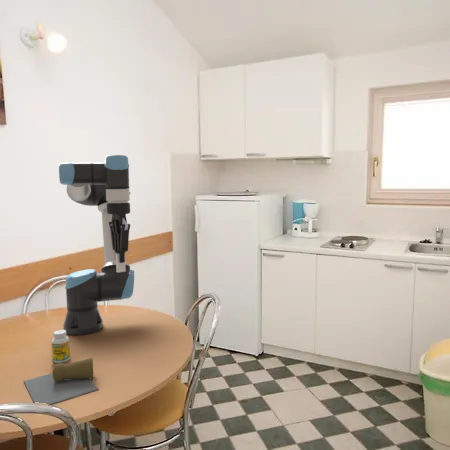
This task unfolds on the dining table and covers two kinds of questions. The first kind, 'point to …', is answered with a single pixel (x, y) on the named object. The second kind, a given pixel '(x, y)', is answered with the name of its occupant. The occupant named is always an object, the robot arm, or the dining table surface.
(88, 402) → the dining table surface
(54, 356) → the supplement bottle
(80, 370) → the cork
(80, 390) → the mat
